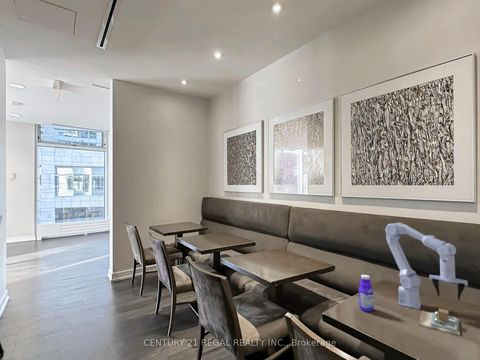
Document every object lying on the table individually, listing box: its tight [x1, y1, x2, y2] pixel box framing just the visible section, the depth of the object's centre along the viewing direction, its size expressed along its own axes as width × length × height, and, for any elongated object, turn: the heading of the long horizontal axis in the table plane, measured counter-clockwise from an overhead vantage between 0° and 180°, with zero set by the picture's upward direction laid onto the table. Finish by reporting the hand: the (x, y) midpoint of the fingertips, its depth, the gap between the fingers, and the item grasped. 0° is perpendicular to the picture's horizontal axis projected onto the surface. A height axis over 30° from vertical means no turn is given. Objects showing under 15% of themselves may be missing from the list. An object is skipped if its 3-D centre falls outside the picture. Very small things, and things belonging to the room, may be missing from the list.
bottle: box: [358, 274, 375, 312], centre depth 138 cm, size 7×6×17 cm
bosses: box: [434, 310, 442, 324], centre depth 124 cm, size 3×11×3 cm, turn 142°
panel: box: [431, 308, 457, 332], centre depth 122 cm, size 9×13×5 cm
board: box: [418, 310, 461, 336], centre depth 123 cm, size 14×16×1 cm
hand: (448, 297), depth 128 cm, fingers open, 7 cm apart
